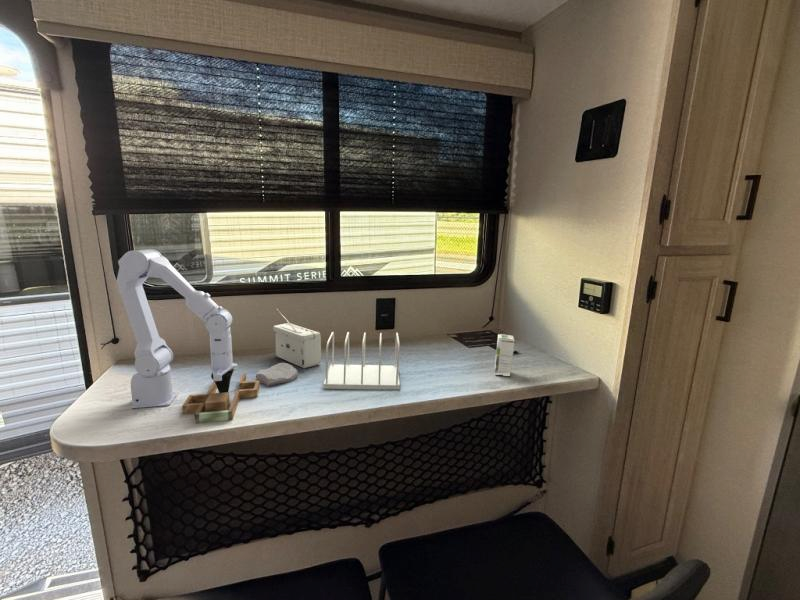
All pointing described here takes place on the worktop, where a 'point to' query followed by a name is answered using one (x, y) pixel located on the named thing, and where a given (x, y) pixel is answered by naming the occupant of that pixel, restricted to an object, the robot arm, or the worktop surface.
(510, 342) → the syrup box
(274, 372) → the stone block
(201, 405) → the trap lane
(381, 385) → the file sorter
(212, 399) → the walnut block
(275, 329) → the stereo radio cassette player
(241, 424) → the worktop surface
